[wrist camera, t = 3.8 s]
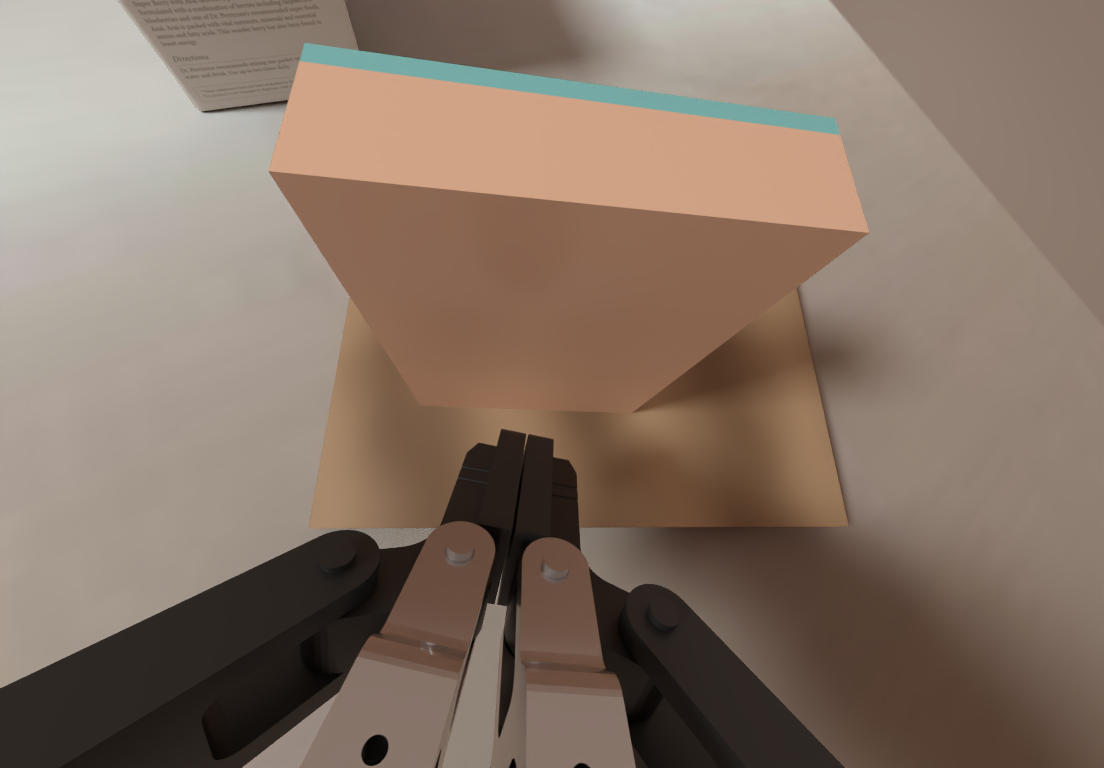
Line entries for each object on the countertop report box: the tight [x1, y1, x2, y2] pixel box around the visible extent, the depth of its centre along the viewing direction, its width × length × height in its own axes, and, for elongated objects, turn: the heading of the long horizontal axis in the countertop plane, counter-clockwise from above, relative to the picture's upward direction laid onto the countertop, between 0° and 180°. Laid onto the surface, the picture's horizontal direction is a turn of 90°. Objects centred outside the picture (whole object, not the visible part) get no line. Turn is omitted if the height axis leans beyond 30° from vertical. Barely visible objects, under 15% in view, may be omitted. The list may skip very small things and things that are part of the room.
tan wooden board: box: [309, 288, 849, 528], centre depth 20 cm, size 22×22×1 cm
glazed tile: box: [269, 43, 869, 413], centre depth 12 cm, size 9×2×12 cm, turn 90°
